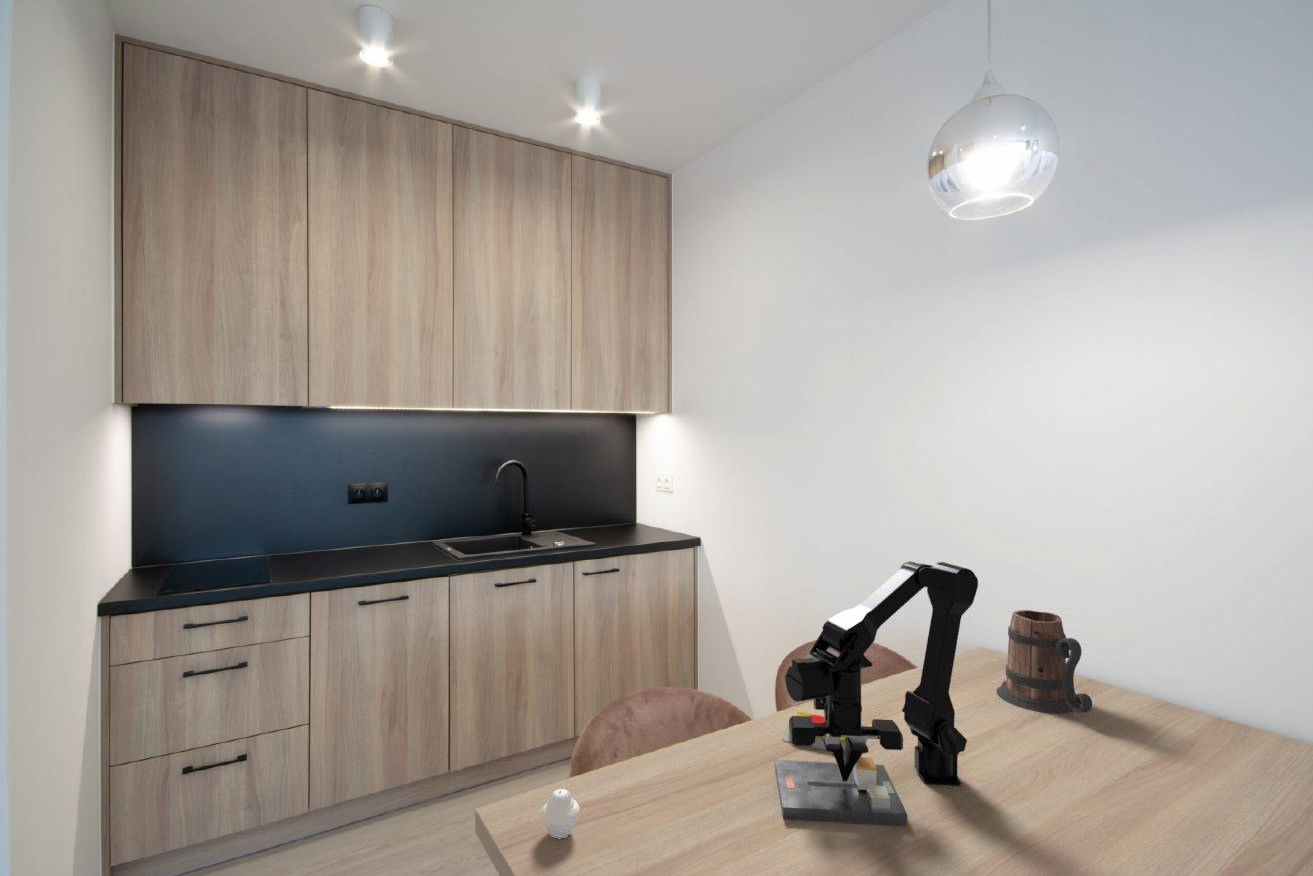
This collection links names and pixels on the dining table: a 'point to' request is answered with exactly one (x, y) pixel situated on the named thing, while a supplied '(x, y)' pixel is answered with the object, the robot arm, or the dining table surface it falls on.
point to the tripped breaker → (865, 772)
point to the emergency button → (818, 739)
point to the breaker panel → (836, 795)
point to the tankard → (1042, 665)
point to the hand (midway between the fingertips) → (844, 780)
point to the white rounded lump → (560, 814)
